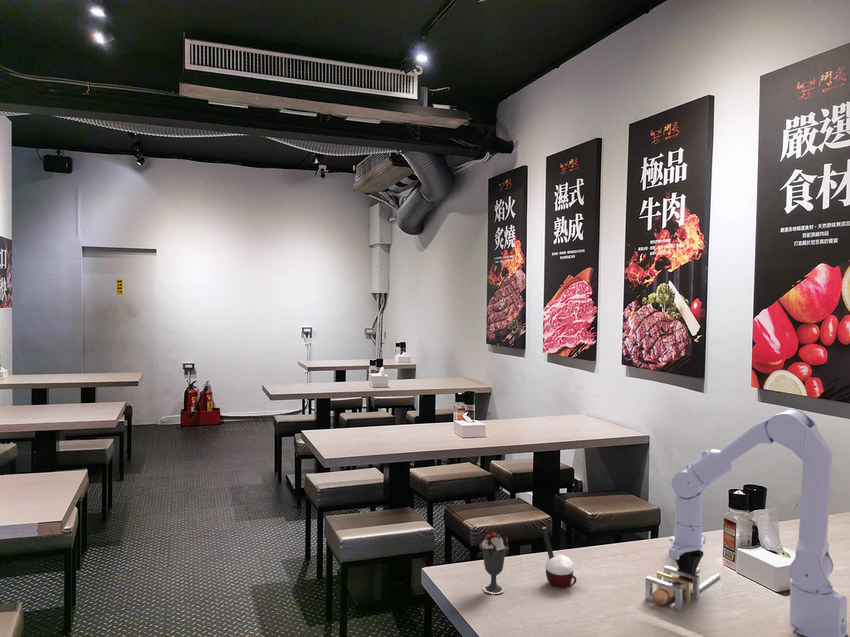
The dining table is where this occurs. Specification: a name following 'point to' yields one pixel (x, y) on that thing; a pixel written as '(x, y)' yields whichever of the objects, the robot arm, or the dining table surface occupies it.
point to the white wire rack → (678, 590)
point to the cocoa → (558, 566)
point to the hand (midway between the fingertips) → (687, 581)
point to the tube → (667, 592)
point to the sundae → (494, 557)
